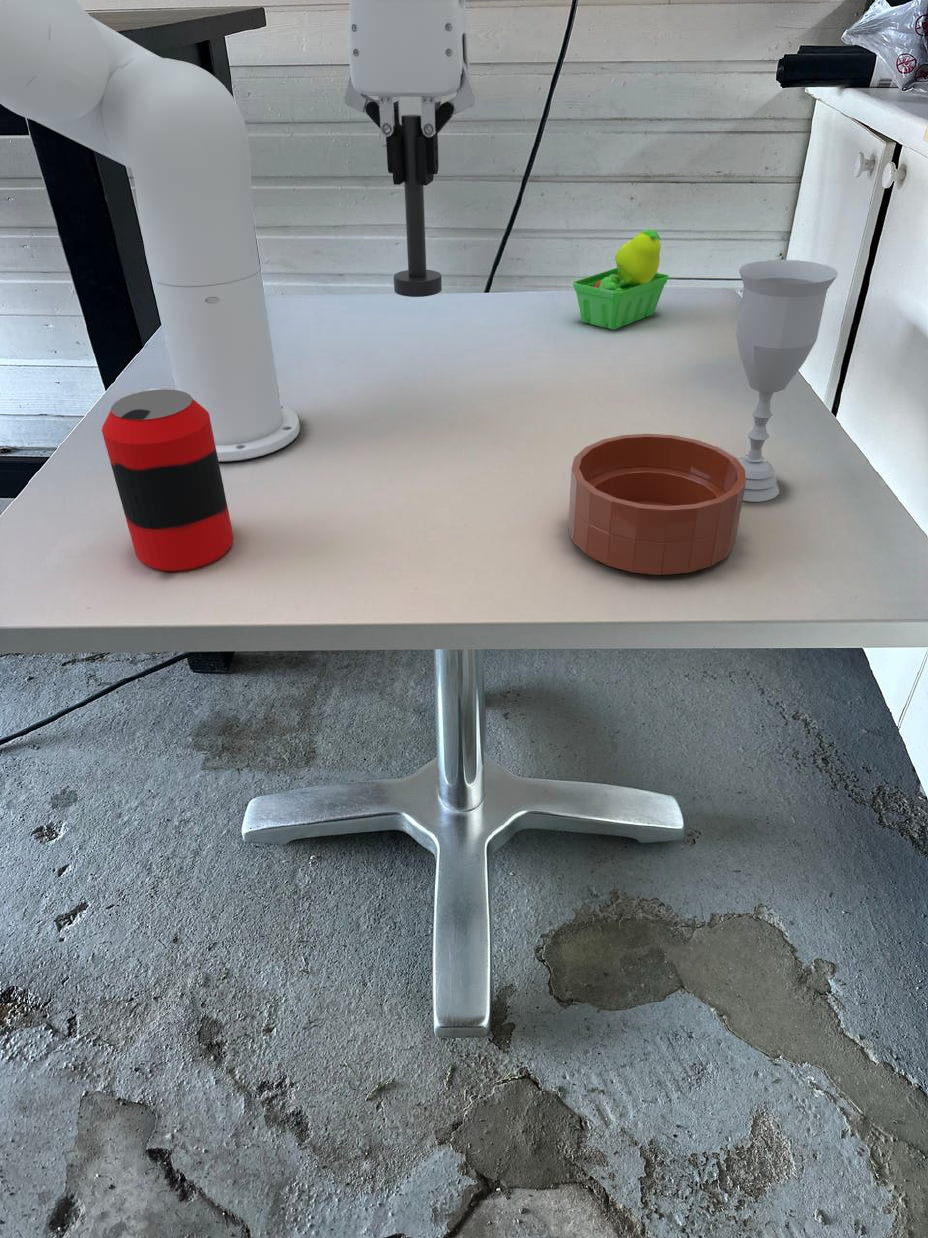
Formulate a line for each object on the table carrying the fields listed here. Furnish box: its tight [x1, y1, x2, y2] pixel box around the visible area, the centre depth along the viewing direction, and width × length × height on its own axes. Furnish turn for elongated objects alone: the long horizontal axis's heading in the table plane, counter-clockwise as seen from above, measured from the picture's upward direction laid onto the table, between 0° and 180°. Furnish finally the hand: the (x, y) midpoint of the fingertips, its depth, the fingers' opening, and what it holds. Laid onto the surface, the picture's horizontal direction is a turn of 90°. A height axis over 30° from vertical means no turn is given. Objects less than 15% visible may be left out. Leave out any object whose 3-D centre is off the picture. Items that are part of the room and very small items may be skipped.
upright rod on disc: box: [393, 114, 443, 298], centre depth 86 cm, size 5×5×16 cm
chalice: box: [735, 259, 839, 503], centre depth 72 cm, size 7×7×18 cm
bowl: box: [567, 433, 746, 576], centre depth 69 cm, size 13×13×6 cm
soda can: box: [101, 388, 234, 572], centre depth 67 cm, size 8×8×12 cm
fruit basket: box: [572, 228, 670, 331], centre depth 113 cm, size 11×9×11 cm
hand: (413, 180), depth 84 cm, fingers closed on upright rod on disc
